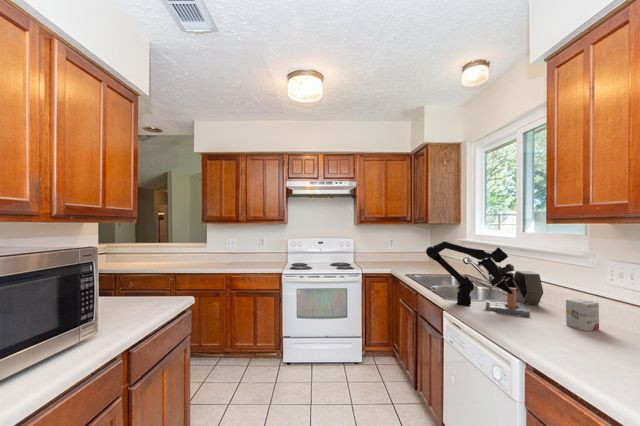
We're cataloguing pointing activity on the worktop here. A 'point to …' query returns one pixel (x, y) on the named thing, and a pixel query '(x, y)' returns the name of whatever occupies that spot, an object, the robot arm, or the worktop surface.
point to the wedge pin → (511, 298)
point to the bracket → (490, 306)
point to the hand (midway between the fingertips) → (514, 292)
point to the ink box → (582, 314)
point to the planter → (528, 287)
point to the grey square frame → (512, 309)
